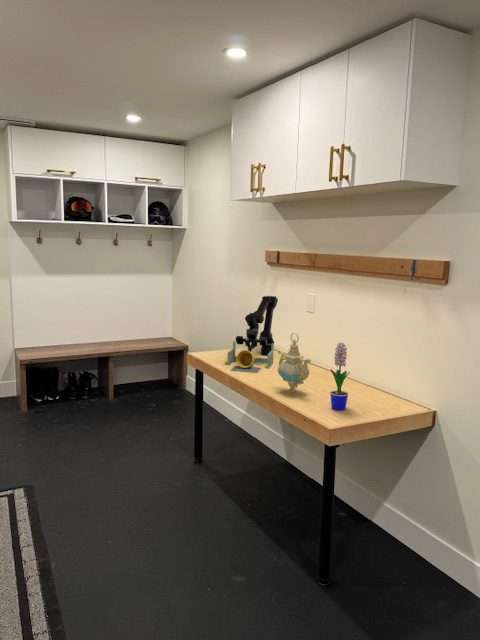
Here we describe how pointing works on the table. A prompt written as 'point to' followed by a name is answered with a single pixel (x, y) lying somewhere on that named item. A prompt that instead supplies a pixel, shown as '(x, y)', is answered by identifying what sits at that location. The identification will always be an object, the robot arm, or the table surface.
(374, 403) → the table surface
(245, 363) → the plant pot
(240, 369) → the mat
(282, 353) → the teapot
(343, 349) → the hyacinth
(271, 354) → the grey-green open frame
